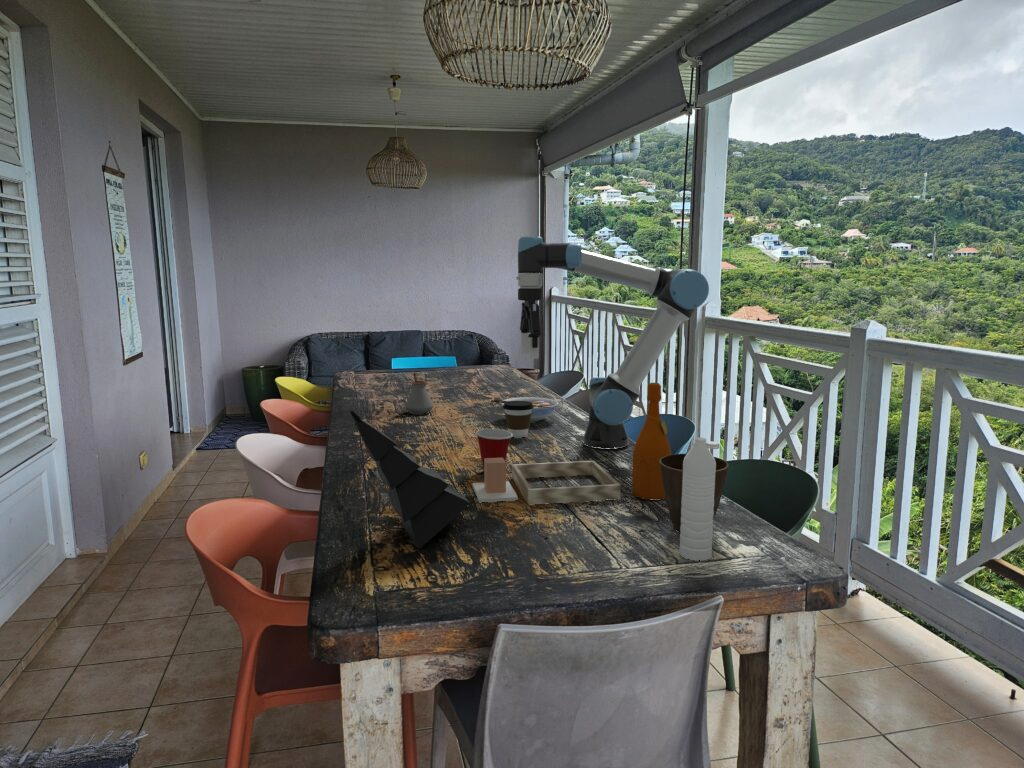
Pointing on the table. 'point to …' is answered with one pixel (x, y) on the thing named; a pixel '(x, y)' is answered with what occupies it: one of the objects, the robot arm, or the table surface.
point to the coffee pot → (419, 398)
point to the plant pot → (673, 483)
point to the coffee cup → (518, 417)
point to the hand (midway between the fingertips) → (529, 355)
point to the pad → (494, 497)
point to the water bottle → (698, 501)
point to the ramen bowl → (535, 406)
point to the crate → (565, 494)
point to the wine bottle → (650, 450)
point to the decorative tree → (412, 487)
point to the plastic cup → (493, 443)
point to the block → (494, 475)
